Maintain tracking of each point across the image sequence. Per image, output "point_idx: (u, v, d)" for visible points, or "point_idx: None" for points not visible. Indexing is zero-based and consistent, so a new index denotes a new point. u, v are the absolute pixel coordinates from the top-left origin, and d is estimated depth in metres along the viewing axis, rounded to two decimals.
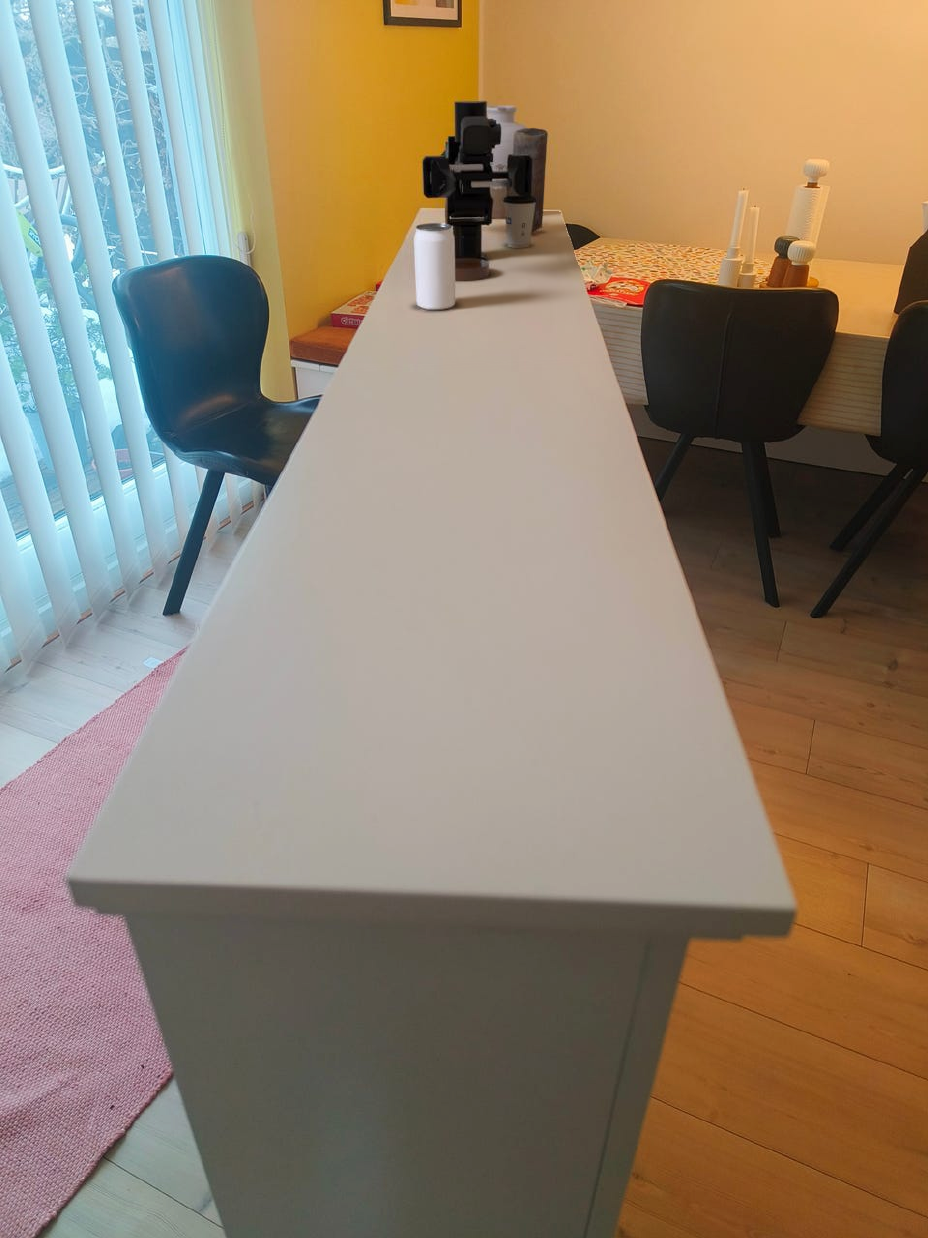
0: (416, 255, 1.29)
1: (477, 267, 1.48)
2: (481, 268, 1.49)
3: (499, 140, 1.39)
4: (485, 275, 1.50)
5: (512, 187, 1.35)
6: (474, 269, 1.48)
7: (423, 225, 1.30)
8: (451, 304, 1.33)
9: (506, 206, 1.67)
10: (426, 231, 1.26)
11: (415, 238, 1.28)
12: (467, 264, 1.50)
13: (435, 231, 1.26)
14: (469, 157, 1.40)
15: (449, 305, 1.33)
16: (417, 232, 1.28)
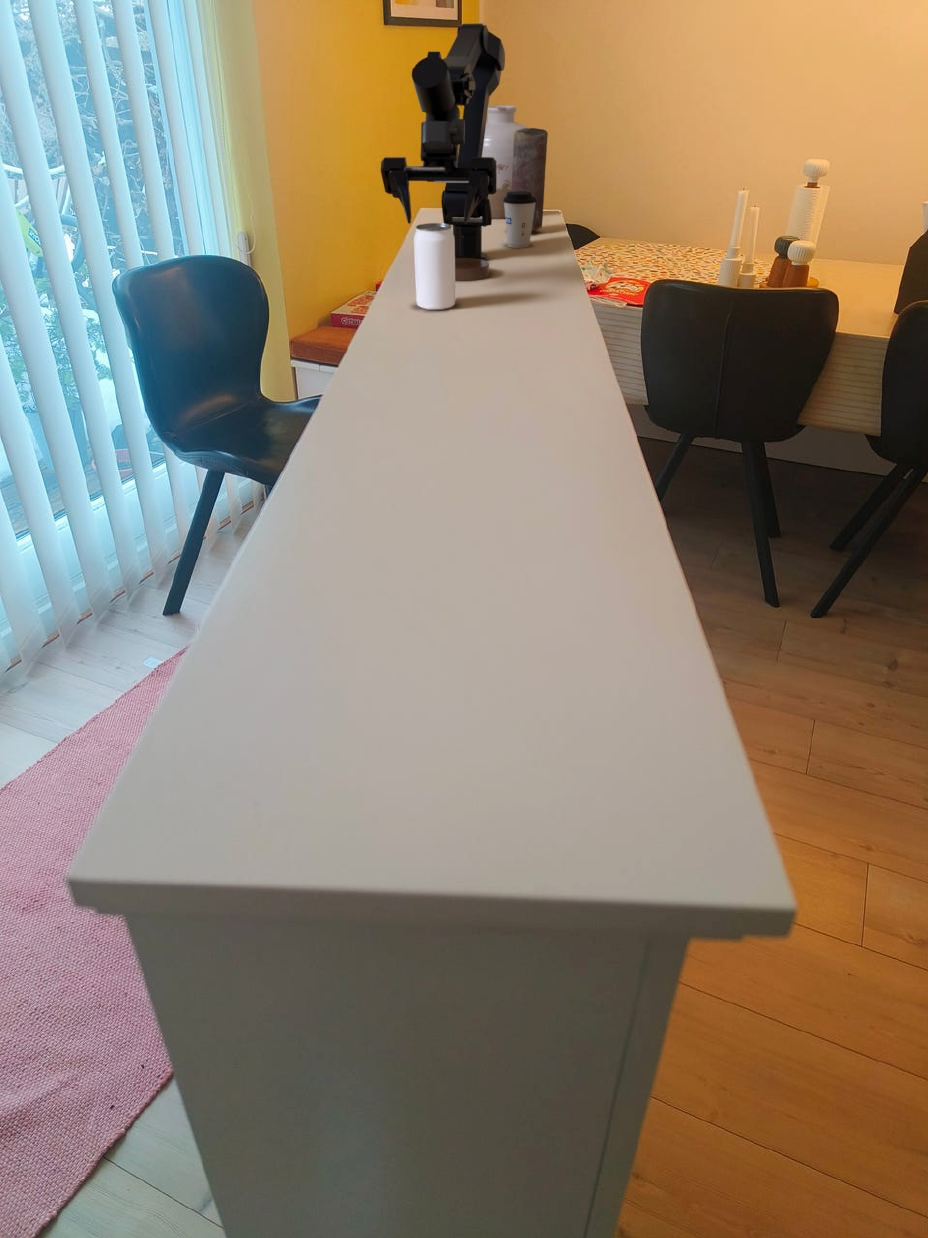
0: (416, 255, 1.29)
1: (477, 267, 1.48)
2: (481, 268, 1.49)
3: (462, 143, 1.29)
4: (485, 275, 1.50)
5: (468, 220, 1.33)
6: (474, 269, 1.48)
7: (423, 225, 1.30)
8: (451, 304, 1.33)
9: (506, 206, 1.67)
10: (426, 231, 1.26)
11: (415, 238, 1.28)
12: (467, 264, 1.50)
13: (435, 231, 1.26)
14: (431, 158, 1.32)
15: (449, 305, 1.33)
16: (417, 232, 1.28)
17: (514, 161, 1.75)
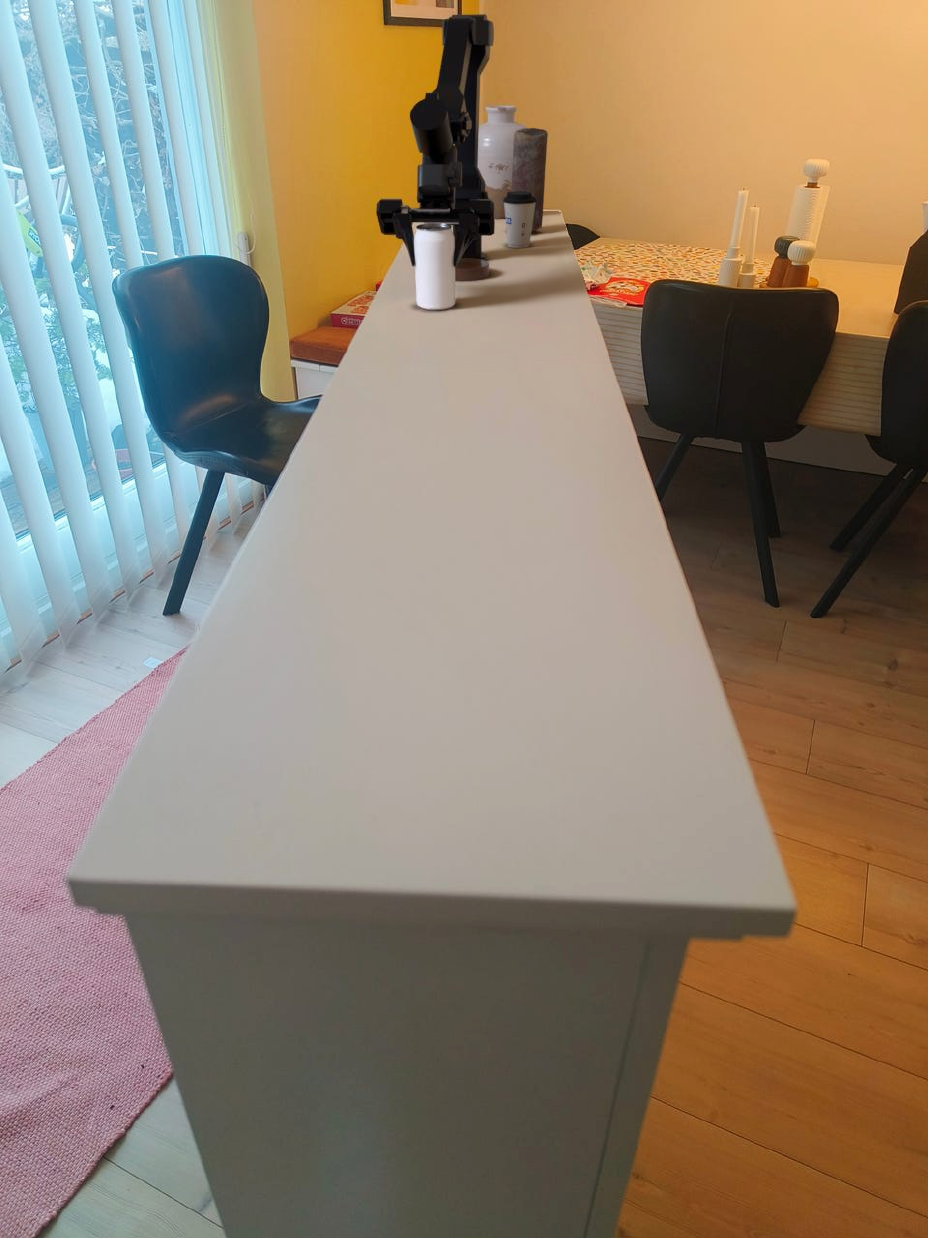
0: (416, 255, 1.29)
1: (477, 267, 1.48)
2: (481, 268, 1.49)
3: (459, 186, 1.27)
4: (485, 275, 1.50)
5: None
6: (474, 269, 1.48)
7: (423, 225, 1.30)
8: (451, 304, 1.33)
9: (506, 206, 1.67)
10: (426, 231, 1.26)
11: (415, 238, 1.28)
12: (467, 264, 1.50)
13: (435, 232, 1.26)
14: (427, 200, 1.29)
15: (449, 305, 1.33)
16: (417, 232, 1.28)
17: (514, 161, 1.75)
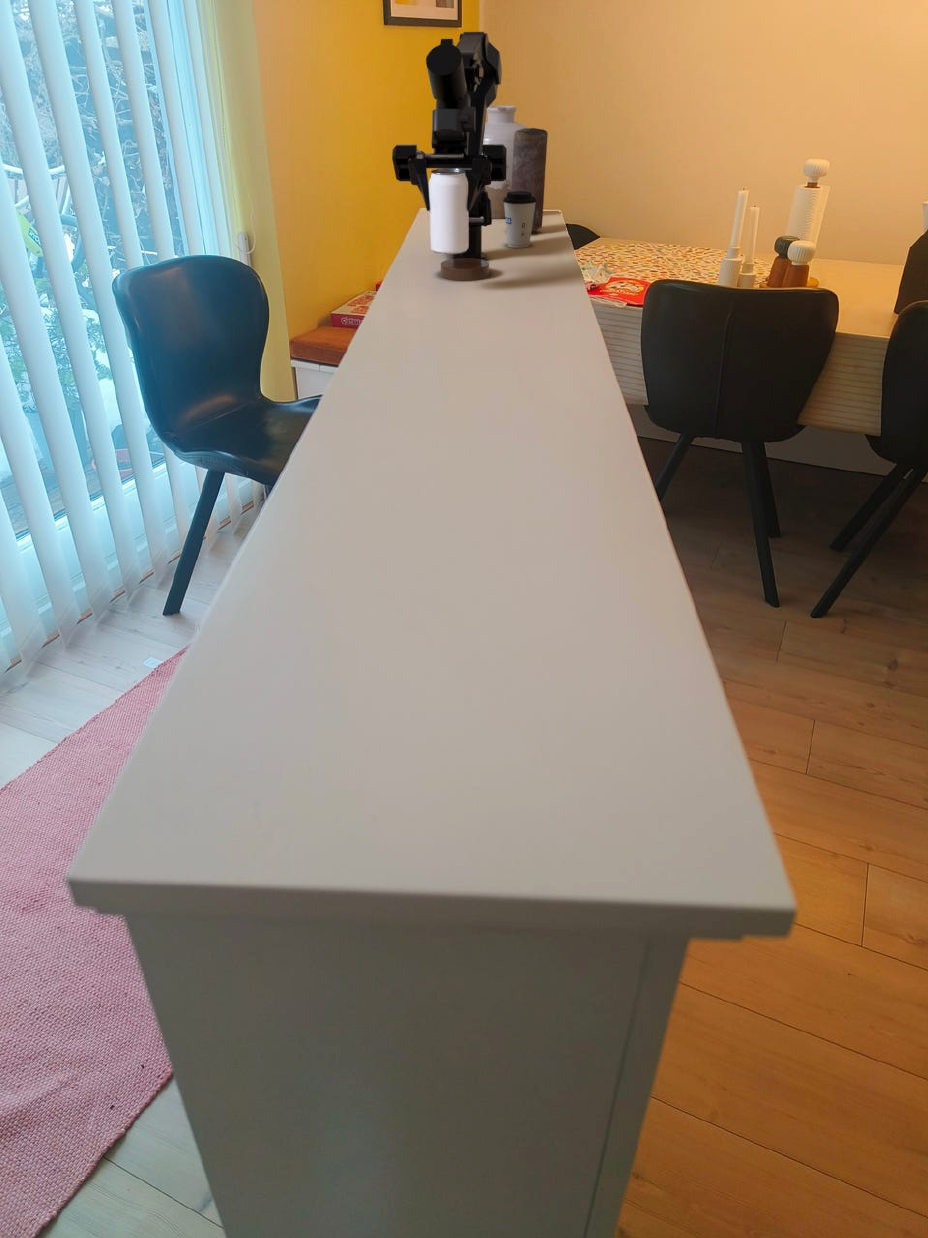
0: (431, 199, 1.33)
1: (477, 267, 1.48)
2: (481, 268, 1.49)
3: (473, 131, 1.31)
4: (485, 275, 1.50)
5: (471, 207, 1.35)
6: (474, 269, 1.48)
7: (438, 170, 1.34)
8: (464, 248, 1.37)
9: (506, 206, 1.67)
10: (441, 175, 1.30)
11: (430, 182, 1.32)
12: (467, 264, 1.50)
13: (449, 175, 1.30)
14: (441, 145, 1.33)
15: (463, 249, 1.37)
16: (432, 176, 1.32)
17: (514, 161, 1.75)
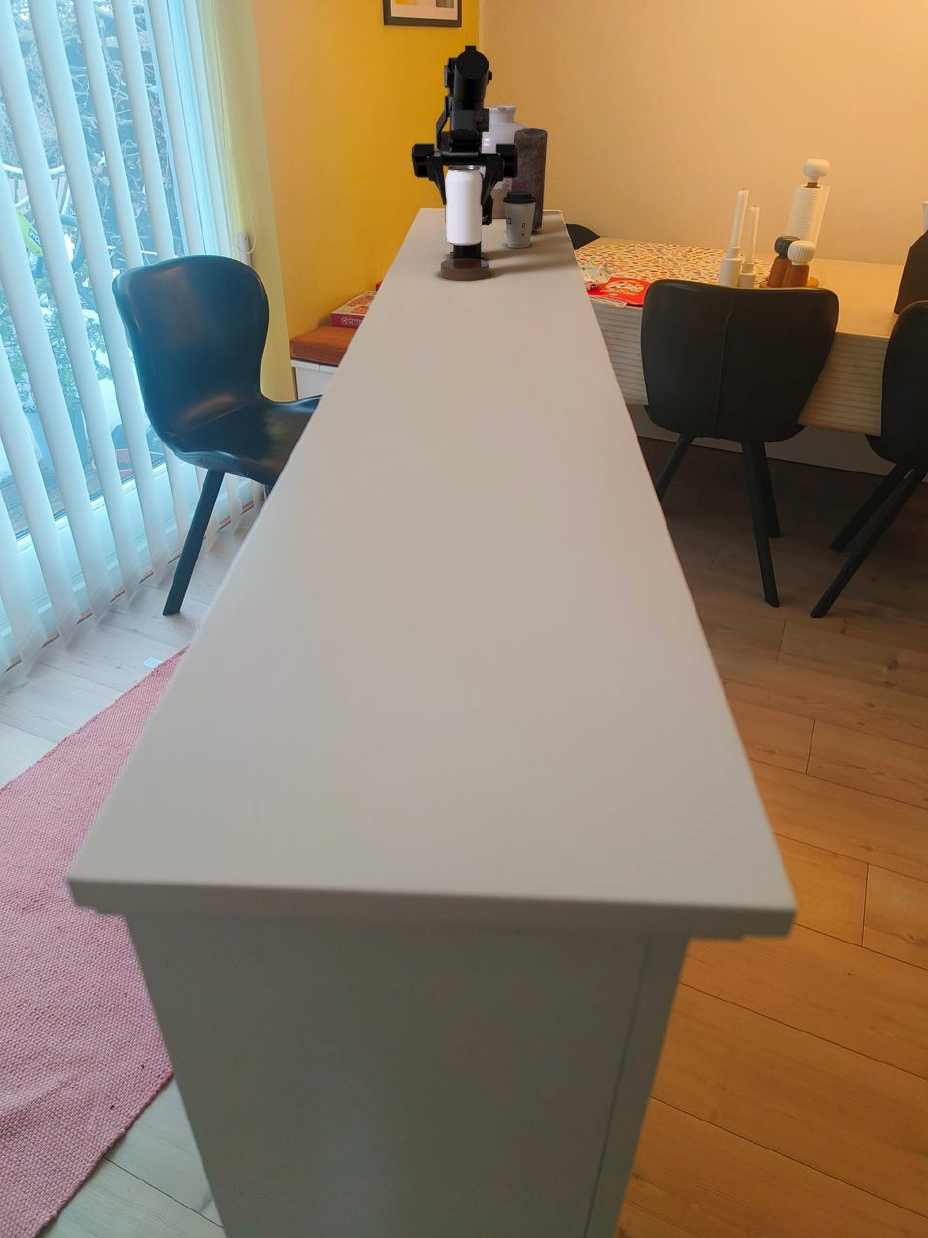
0: (447, 194, 1.43)
1: (477, 267, 1.48)
2: (481, 268, 1.49)
3: (487, 131, 1.40)
4: (485, 275, 1.50)
5: (485, 202, 1.45)
6: (474, 269, 1.48)
7: (454, 167, 1.44)
8: (478, 240, 1.47)
9: (506, 206, 1.67)
10: (457, 171, 1.40)
11: (447, 178, 1.42)
12: (467, 264, 1.50)
13: (465, 172, 1.40)
14: (458, 144, 1.43)
15: (476, 241, 1.47)
16: (449, 173, 1.41)
17: None
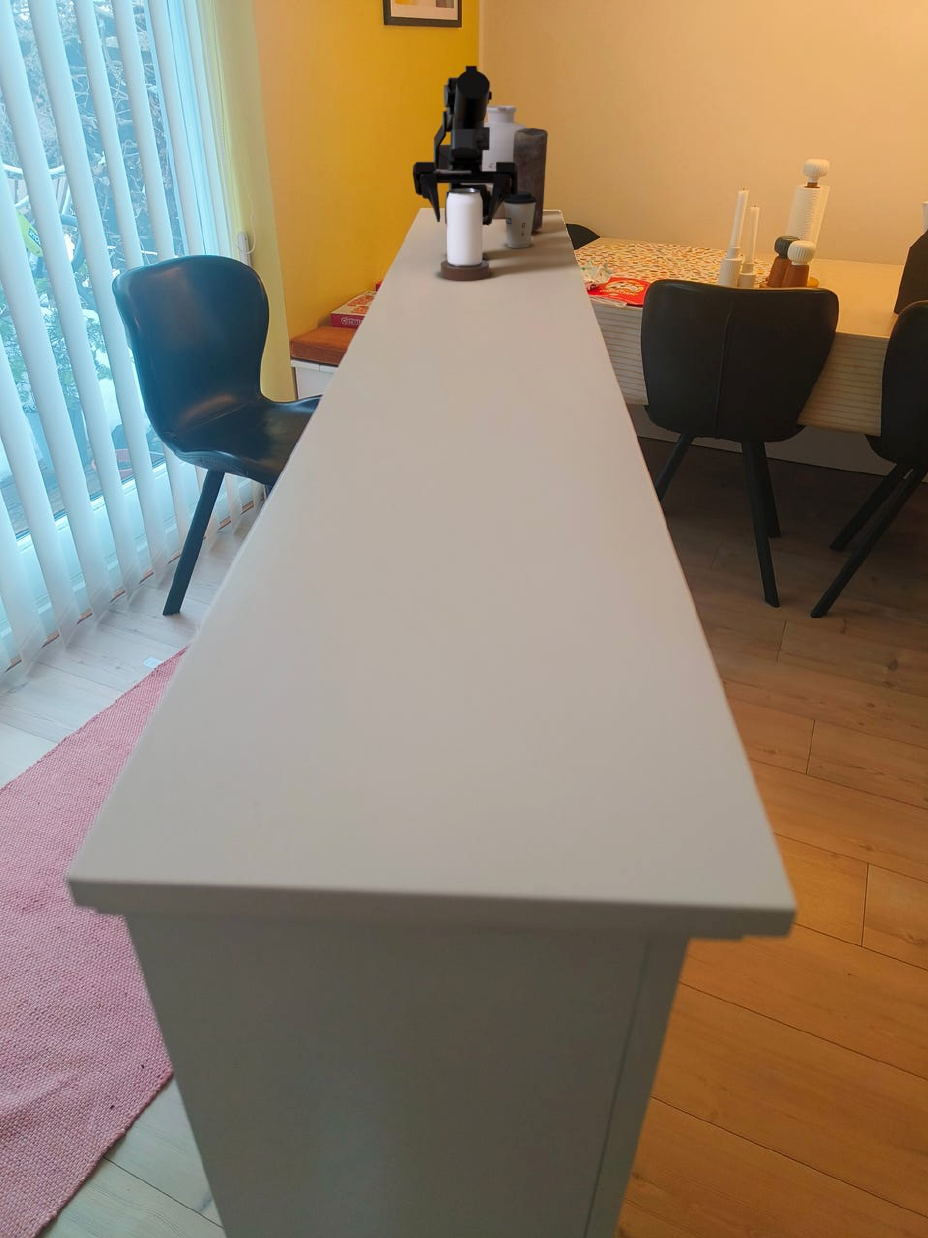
0: (448, 216, 1.45)
1: (477, 267, 1.48)
2: (481, 268, 1.49)
3: (487, 149, 1.42)
4: (485, 275, 1.50)
5: None
6: (474, 269, 1.48)
7: (454, 190, 1.46)
8: (479, 261, 1.49)
9: (506, 206, 1.67)
10: (458, 194, 1.42)
11: (448, 201, 1.44)
12: None
13: (466, 195, 1.42)
14: (458, 162, 1.45)
15: (477, 262, 1.49)
16: (449, 196, 1.44)
17: (514, 161, 1.75)
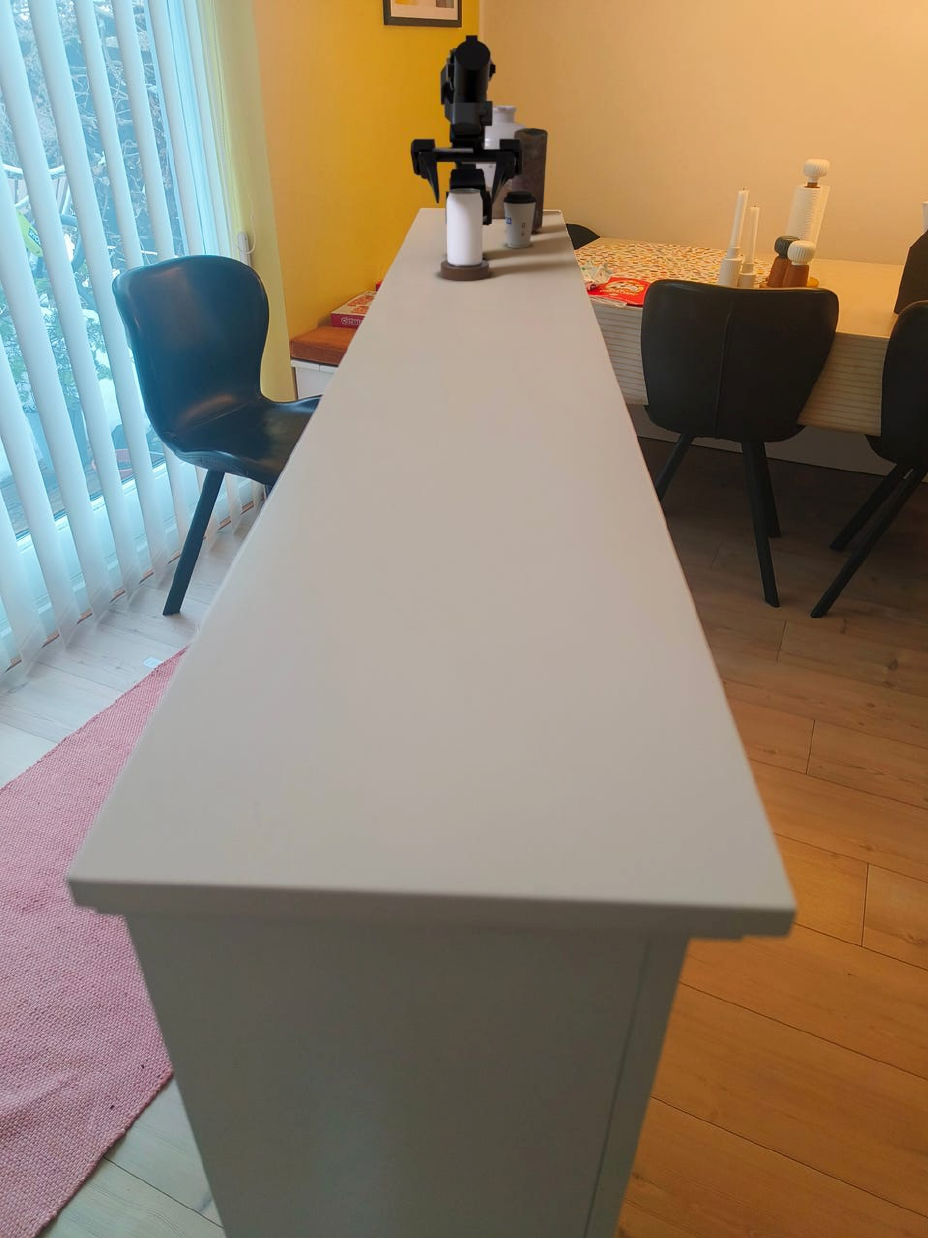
0: (448, 216, 1.45)
1: (477, 267, 1.48)
2: (481, 268, 1.49)
3: (490, 125, 1.33)
4: (485, 275, 1.50)
5: None
6: (474, 269, 1.48)
7: (454, 190, 1.46)
8: (479, 261, 1.49)
9: (506, 206, 1.67)
10: (458, 194, 1.42)
11: (448, 201, 1.44)
12: None
13: (466, 195, 1.42)
14: (459, 139, 1.35)
15: (477, 262, 1.49)
16: (449, 196, 1.44)
17: None
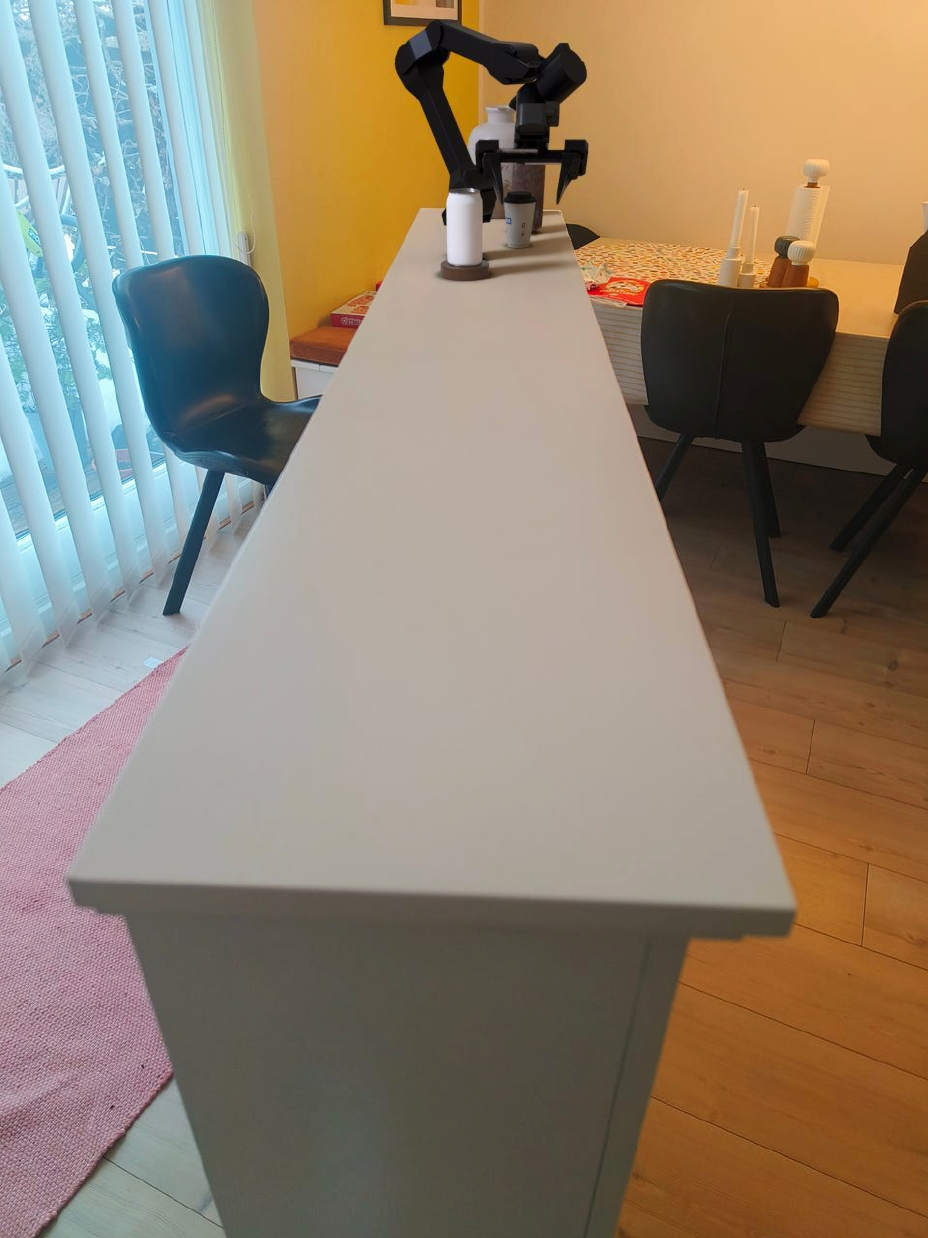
0: (448, 216, 1.45)
1: (477, 267, 1.48)
2: (481, 268, 1.49)
3: (557, 125, 1.32)
4: (485, 275, 1.50)
5: (559, 201, 1.37)
6: (474, 269, 1.48)
7: (454, 190, 1.46)
8: (479, 261, 1.49)
9: (506, 206, 1.67)
10: (458, 194, 1.42)
11: (448, 201, 1.44)
12: None
13: (466, 195, 1.42)
14: (524, 140, 1.35)
15: (477, 262, 1.49)
16: (449, 196, 1.44)
17: None
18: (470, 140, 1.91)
